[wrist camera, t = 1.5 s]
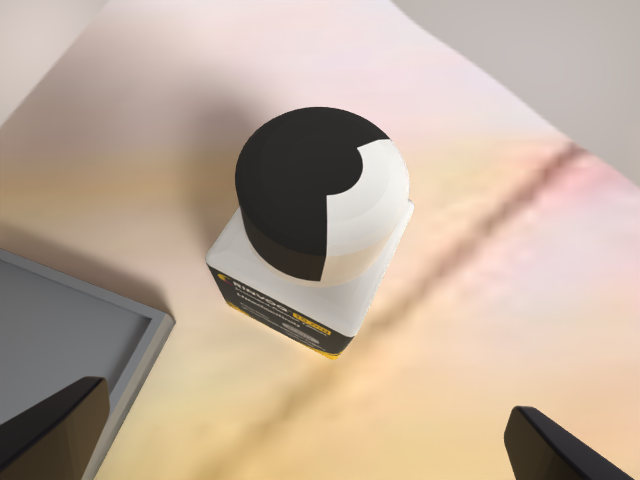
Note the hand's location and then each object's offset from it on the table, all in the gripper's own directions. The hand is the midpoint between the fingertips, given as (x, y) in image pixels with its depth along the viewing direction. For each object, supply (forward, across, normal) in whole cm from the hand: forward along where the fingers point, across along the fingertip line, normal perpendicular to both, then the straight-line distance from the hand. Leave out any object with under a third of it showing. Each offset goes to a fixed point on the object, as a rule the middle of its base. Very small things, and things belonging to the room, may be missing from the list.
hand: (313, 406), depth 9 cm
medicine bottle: (+15, 0, +4) cm, 15 cm away
